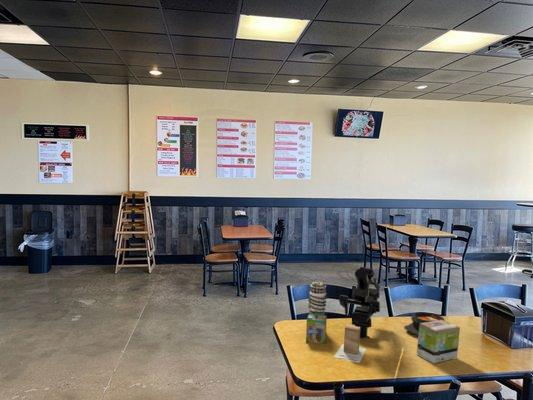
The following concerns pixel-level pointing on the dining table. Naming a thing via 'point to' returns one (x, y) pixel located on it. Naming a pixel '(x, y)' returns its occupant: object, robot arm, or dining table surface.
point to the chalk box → (316, 328)
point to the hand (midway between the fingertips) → (355, 319)
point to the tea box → (438, 341)
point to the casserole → (421, 321)
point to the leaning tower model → (317, 298)
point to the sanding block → (351, 339)
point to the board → (350, 355)
